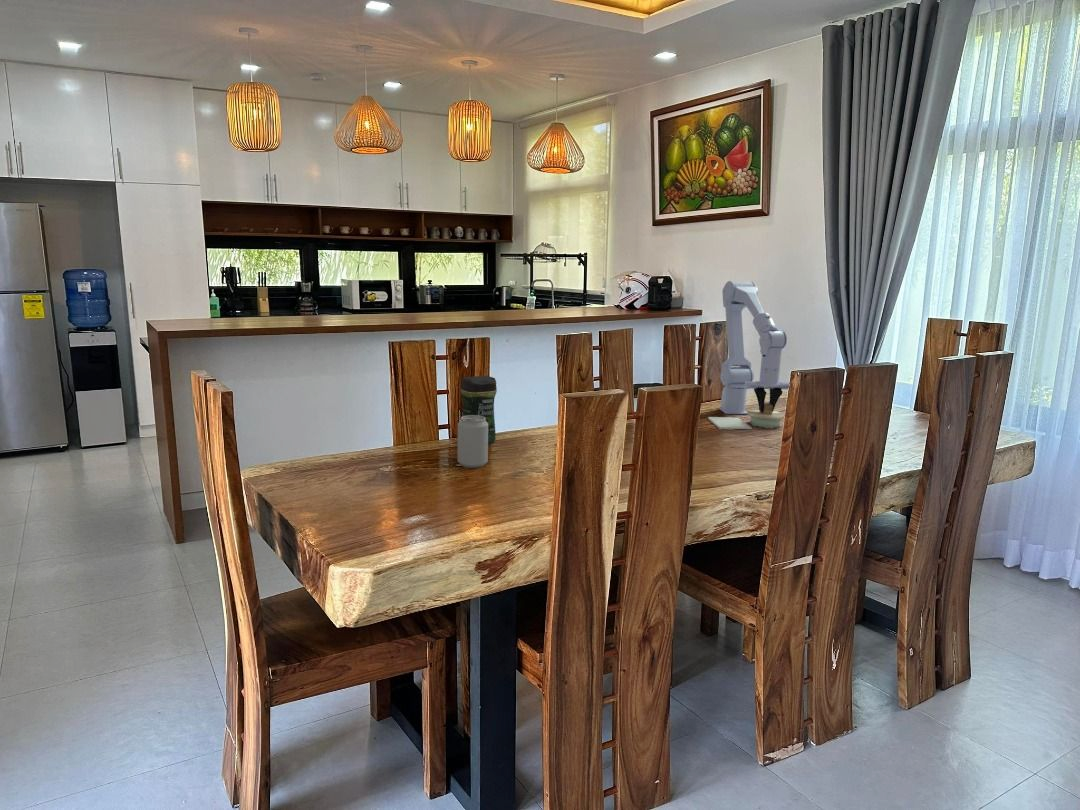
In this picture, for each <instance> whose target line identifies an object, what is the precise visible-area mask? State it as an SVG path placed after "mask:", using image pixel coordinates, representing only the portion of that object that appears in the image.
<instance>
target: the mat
mask: <svg viewBox="0 0 1080 810" xmlns="http://www.w3.org/2000/svg"><path fill="white" fill-rule="evenodd" d="M707 420H708V421H709V422H711V423H712V424H713V425H714V426H715V427H717V429H719V430H735V429H752V430H753V427H751V425H749V424H747V423H746V422H745V421H743V420H742V419H741V418H739V417H735V416H733V417H730V416H729V417H728V416H727V417H725V416H723V417H722V416H720V417H719V416H718V417H717V416H707Z"/></svg>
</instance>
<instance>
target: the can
mask: <svg viewBox="0 0 1080 810" xmlns="http://www.w3.org/2000/svg"><path fill="white" fill-rule="evenodd" d="M485 420H486V418H485V417H483V416H478V415H467V416H462V415H461V417H460V418H459V422H457V463H458V464H460V465H461V466H462V467H465V468H469V469H470V468H471V469H473V468H481V467H483V466H485V465H486V464H487V463H488V460H489V457H488V456H489V444H488V423H487V422H486V421H485Z"/></svg>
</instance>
